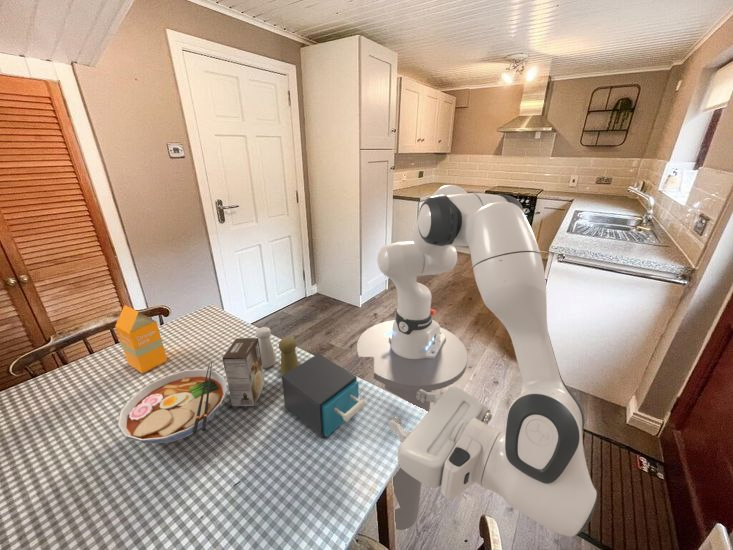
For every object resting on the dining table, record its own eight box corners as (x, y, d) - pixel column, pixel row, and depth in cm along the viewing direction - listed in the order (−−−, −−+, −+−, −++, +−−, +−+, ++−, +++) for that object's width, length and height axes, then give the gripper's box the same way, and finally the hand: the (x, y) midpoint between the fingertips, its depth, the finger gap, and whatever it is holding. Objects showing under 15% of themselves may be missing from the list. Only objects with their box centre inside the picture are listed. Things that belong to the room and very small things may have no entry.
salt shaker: (255, 369, 96) (249, 334, 91) (261, 358, 101) (256, 324, 96) (273, 369, 95) (269, 334, 91) (279, 358, 101) (275, 324, 96)
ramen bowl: (145, 397, 84) (137, 374, 81) (234, 379, 91) (229, 357, 88) (107, 483, 62) (94, 455, 59) (228, 451, 69) (222, 424, 66)
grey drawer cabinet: (356, 407, 81) (356, 376, 78) (321, 438, 72) (319, 404, 69) (320, 383, 90) (318, 353, 86) (285, 407, 81) (281, 376, 77)
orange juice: (142, 373, 93) (123, 316, 86) (127, 364, 97) (108, 309, 90) (168, 360, 100) (152, 306, 92) (153, 351, 104) (138, 299, 96)
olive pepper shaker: (277, 375, 93) (273, 345, 89) (285, 362, 99) (281, 334, 95) (295, 377, 92) (292, 347, 88) (302, 364, 98) (300, 335, 94)
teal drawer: (371, 418, 77) (372, 390, 74) (340, 448, 69) (339, 419, 66) (324, 385, 88) (322, 360, 85) (291, 408, 80) (289, 381, 77)
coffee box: (244, 383, 90) (236, 337, 84) (265, 383, 90) (259, 337, 84) (231, 407, 81) (221, 357, 75) (255, 407, 81) (247, 357, 75)
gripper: (498, 398, 57) (432, 367, 65) (449, 480, 43) (373, 427, 51) (492, 423, 59) (430, 390, 68) (444, 509, 45) (372, 453, 53)
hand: (405, 406), depth 59 cm, fingers open, 8 cm apart
